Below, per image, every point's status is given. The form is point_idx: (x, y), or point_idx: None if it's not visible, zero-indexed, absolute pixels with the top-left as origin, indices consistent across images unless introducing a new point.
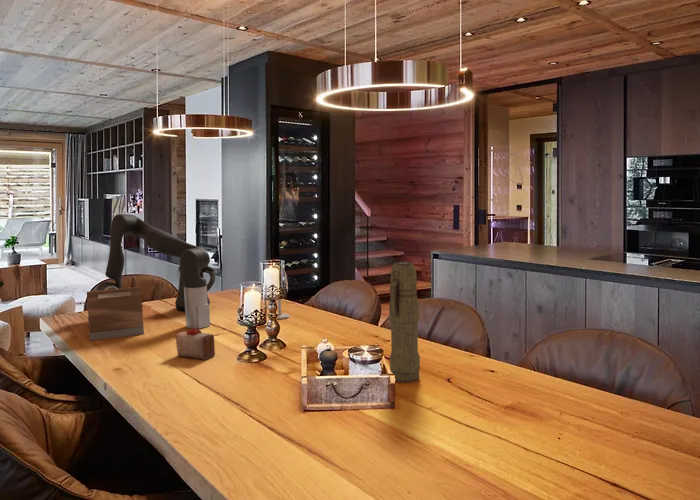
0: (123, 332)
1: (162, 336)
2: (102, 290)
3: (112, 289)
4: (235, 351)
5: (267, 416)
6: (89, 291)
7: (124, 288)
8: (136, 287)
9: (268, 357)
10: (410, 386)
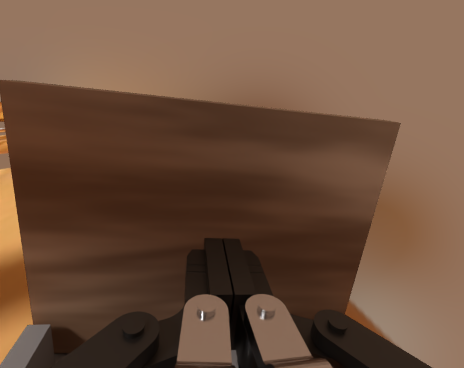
0: None
1: (21, 292)
2: (300, 111)
3: (234, 105)
4: (10, 170)
5: None
6: (383, 121)
7: (145, 95)
8: (47, 84)
9: (5, 152)
10: (3, 119)
